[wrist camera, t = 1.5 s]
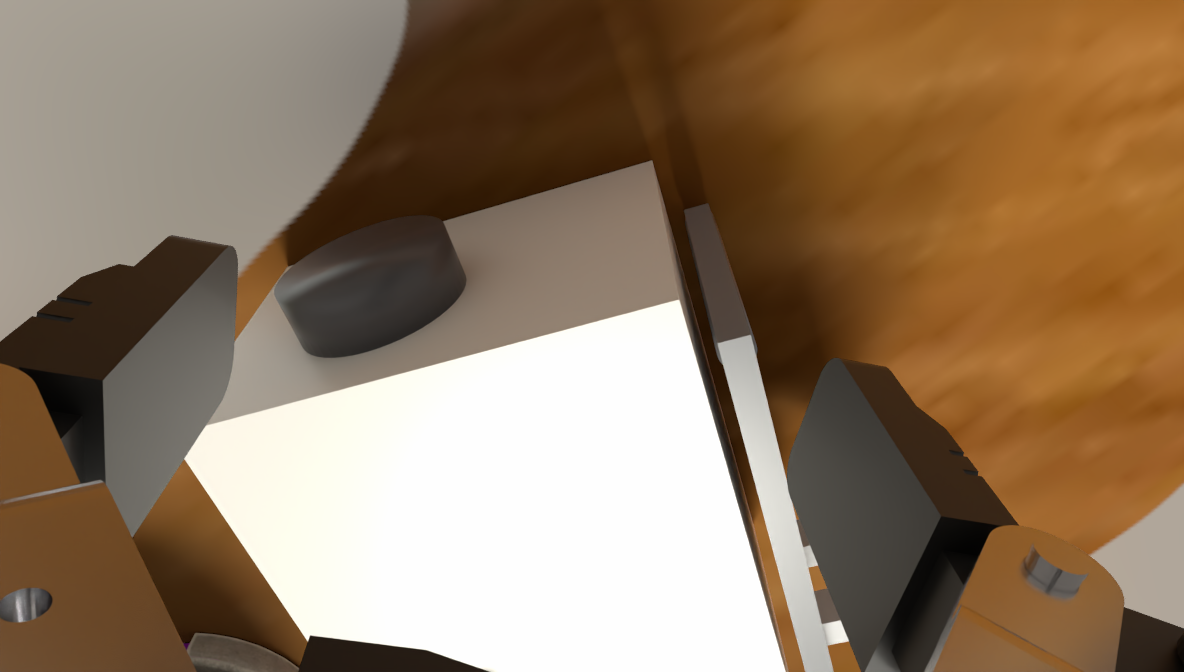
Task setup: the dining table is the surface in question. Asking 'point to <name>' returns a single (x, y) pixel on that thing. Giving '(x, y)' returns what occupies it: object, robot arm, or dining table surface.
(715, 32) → the dining table surface
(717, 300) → the side door
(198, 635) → the grey rounded dome
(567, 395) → the cabinet housing
